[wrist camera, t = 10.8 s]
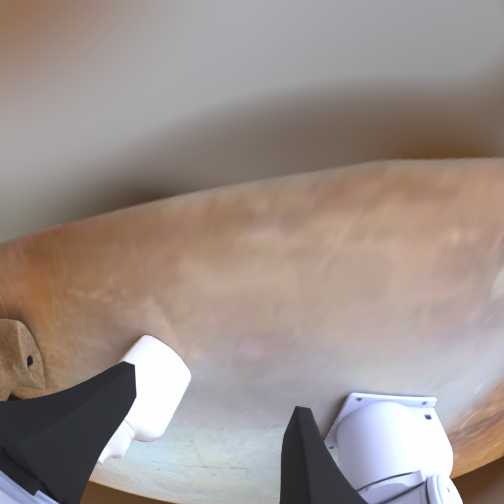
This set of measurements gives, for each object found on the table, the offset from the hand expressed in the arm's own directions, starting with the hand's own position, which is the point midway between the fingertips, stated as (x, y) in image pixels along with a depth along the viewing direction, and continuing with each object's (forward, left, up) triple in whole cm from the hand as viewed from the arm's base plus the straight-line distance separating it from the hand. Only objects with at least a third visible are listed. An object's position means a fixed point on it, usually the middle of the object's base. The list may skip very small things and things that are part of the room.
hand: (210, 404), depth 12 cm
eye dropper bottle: (+6, +7, -11) cm, 14 cm away
